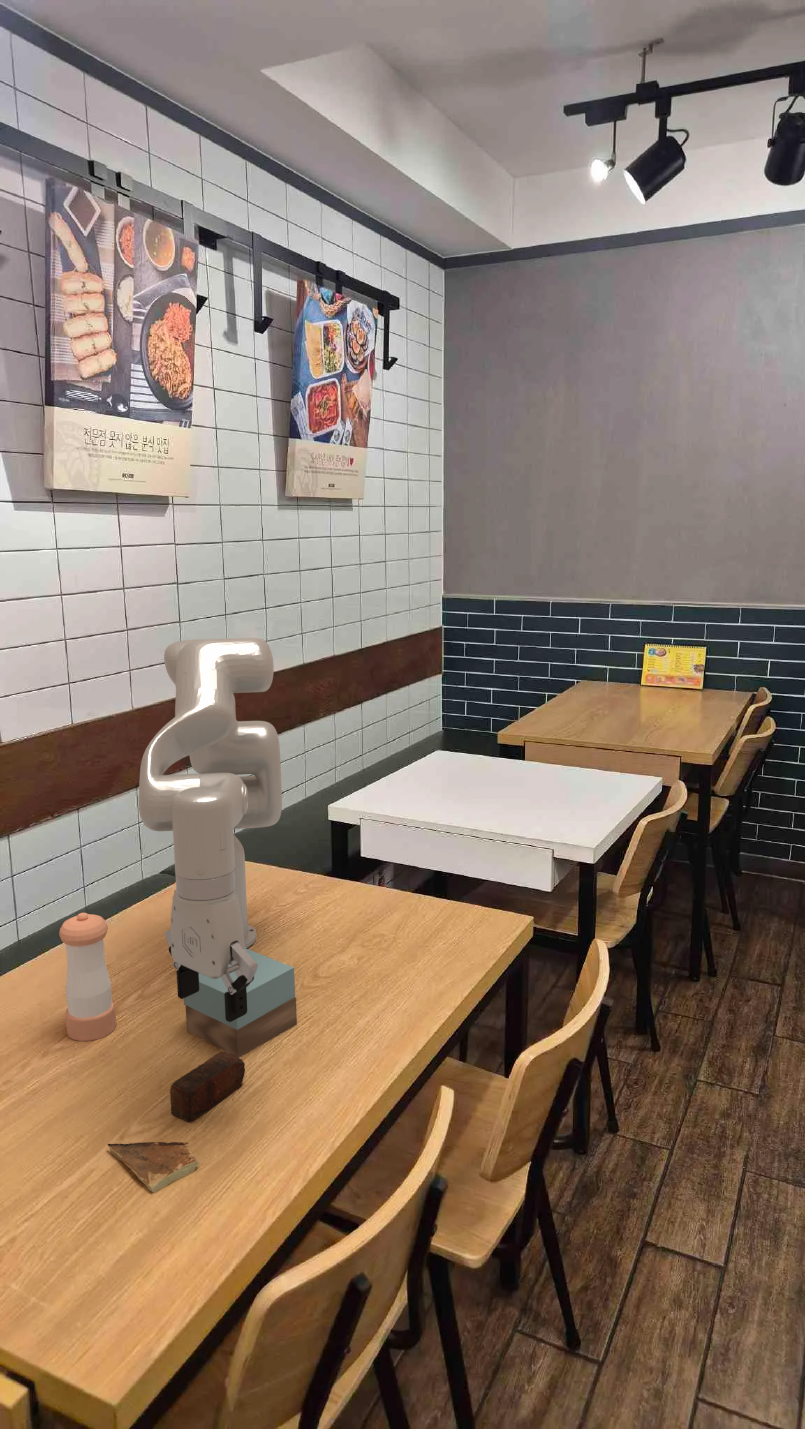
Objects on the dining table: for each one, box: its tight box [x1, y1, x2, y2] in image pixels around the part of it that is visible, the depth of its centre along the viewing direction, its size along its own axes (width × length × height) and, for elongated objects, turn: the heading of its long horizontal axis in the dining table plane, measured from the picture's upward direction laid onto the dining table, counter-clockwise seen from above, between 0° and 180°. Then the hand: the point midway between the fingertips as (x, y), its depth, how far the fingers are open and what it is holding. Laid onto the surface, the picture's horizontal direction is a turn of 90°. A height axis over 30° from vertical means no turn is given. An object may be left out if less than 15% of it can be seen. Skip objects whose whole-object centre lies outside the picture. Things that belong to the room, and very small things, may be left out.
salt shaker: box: [58, 912, 117, 1042], centre depth 143 cm, size 7×7×19 cm
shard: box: [107, 1141, 200, 1194], centre depth 115 cm, size 11×8×2 cm
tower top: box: [183, 948, 296, 1030], centre depth 144 cm, size 12×12×5 cm
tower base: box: [184, 996, 298, 1058], centre depth 145 cm, size 12×12×5 cm
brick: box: [169, 1051, 246, 1123], centre depth 127 cm, size 11×4×5 cm, turn 148°
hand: (212, 1005), depth 123 cm, fingers open, 9 cm apart
